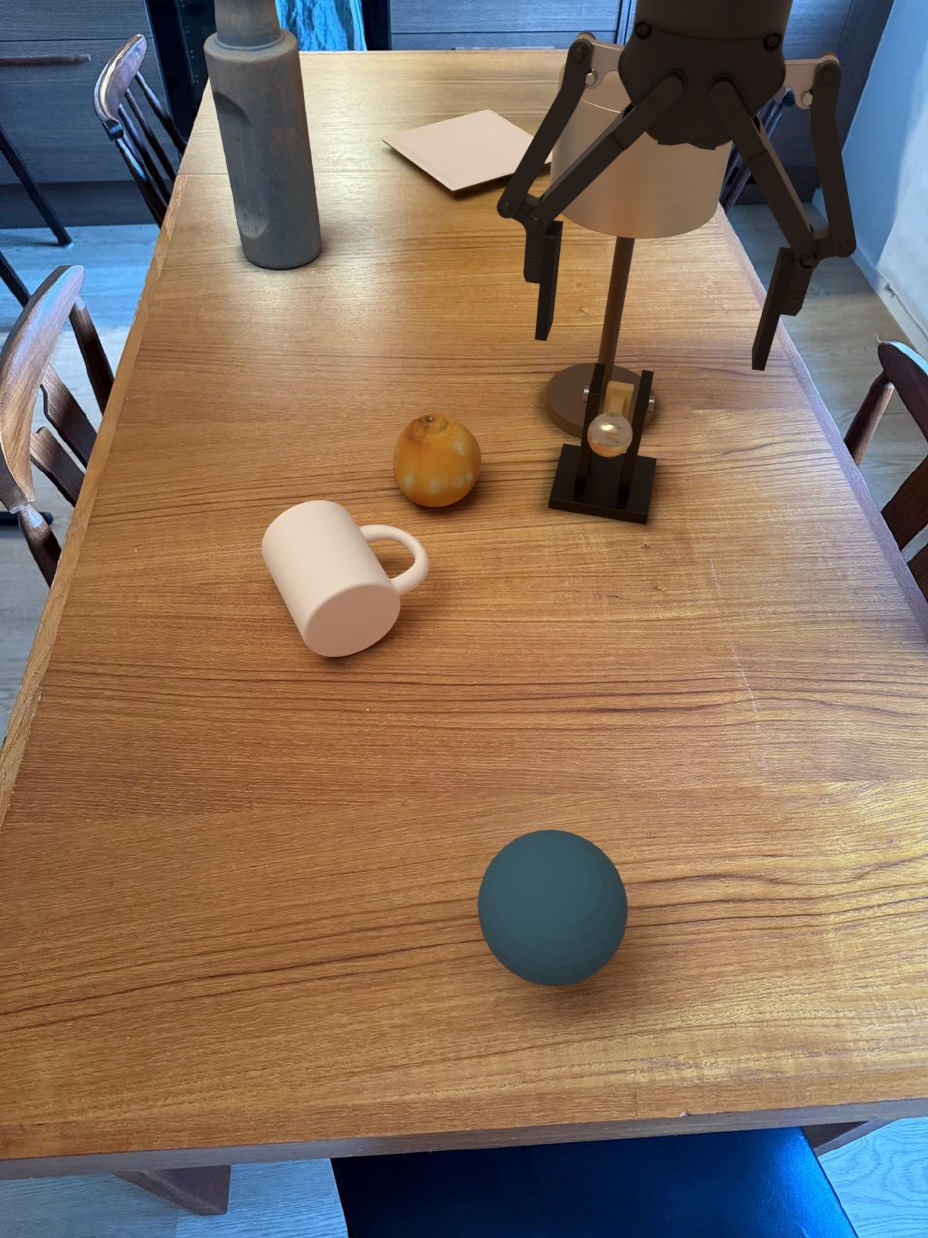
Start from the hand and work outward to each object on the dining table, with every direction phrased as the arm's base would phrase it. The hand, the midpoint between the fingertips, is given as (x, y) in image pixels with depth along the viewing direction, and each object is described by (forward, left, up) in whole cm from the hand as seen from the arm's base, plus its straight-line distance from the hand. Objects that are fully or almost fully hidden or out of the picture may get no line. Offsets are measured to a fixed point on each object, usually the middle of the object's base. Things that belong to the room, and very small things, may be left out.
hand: (648, 345), depth 57 cm
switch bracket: (+13, +1, -24) cm, 27 cm away
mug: (-6, +19, -24) cm, 32 cm away
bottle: (+46, +45, -24) cm, 69 cm away
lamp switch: (+6, +1, -13) cm, 14 cm away
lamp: (+25, +3, -24) cm, 35 cm away
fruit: (+9, +16, -24) cm, 31 cm away
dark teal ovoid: (-31, 0, -24) cm, 39 cm away
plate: (+76, +28, -24) cm, 85 cm away
